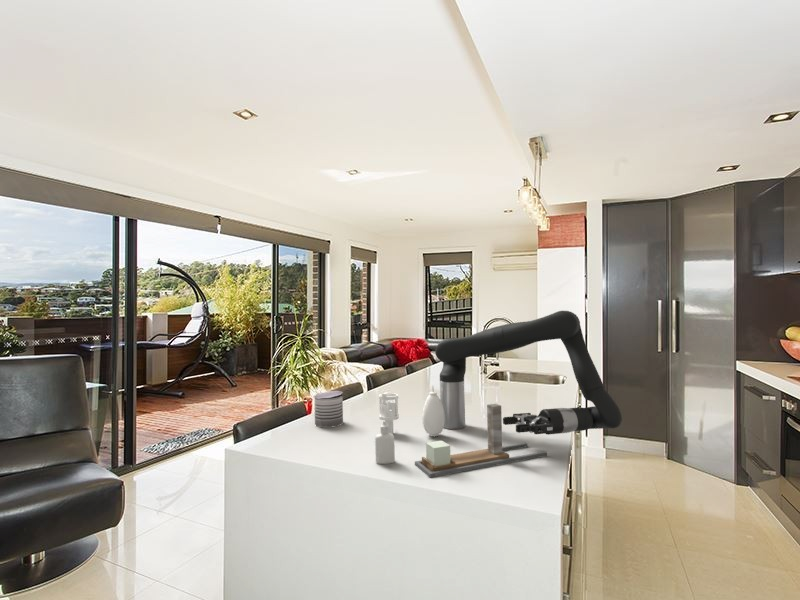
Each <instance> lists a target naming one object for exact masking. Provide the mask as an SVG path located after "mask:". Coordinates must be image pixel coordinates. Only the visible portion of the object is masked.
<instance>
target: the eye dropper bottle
mask: <svg viewBox="0 0 800 600" xmlns="http://www.w3.org/2000/svg"><path fill="white" fill-rule="evenodd" d="M382 421H383V422H382V424H381V425H380V433H377V434H376V435H375V437H374V445H375V451H374V452H375V453H374V455H375V462H376V464H379V465H388V464H393V463H394V462H395V461H396V460H395V459H396V454H395V450H396V449H395V446H396V445H395V436H394V433H393V434H390V433H389V426H388V425H386V421H385V420H382Z"/></svg>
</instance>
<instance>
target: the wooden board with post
mask: <svg viewBox="0 0 800 600" xmlns="http://www.w3.org/2000/svg"><path fill="white" fill-rule="evenodd" d="M486 414H487V415H486V417H487V419H486V421H487V423H486V424H487V448H484V449H478V450H473V451H467V452H462V453H455V454H450V464H446V465H440V466H435V465H434V464H433V463H431V462H430V461H429V460H427V459H426V457H424V456H422V457H421V460H422V465H424V466H425V467H426V468H427V469H429V470H430V471H431V472H434V471H440V470H445V469H450V468H456V467H461V466H467V465H472V464H478V463H483V462H489V461H494V460H500V459H505V458H510V454H509V453H507V452H505V451H502V447H503V427H502V426H503V425H502V424H503V417H502V405H500V404H497V403H489V404H487V405H486Z"/></svg>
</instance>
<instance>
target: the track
mask: <svg viewBox="0 0 800 600" xmlns="http://www.w3.org/2000/svg"><path fill="white" fill-rule="evenodd" d="M528 446H529V445H528V443H527V442H522V443H516V444H511V445H510V444H508V445H504V446H503V445H502V451H503V452H505V450H506V451H510V450H511V449H512V450H516V449H522V448H527V447H528ZM547 456H548V452H547V451H539V452H533V453H529V454H522V455H516V456H512V457H509V458H505V459H500V460H494V461H489V462H483V463H478V464H472V465H467V466H461V467H456V468H450V469H445V470H440V471H434V472H431V471H430V470H429V469H427V468H426V467H425V466H424V465H422V459H421V460H417V461H414V466H415V467H417V468H418V469H419V470H420V471H422V473H424V474H425V475H426V476H427V477H428V478H437V477H441V476H447V475H451V474H455V473H456V474H457V473H461V472H466V471H467V472H468V471H473V470H477V469H483V468H489V467H493V466H499V465H504V464H509V463H510V464H511V463H514V462H520V461H526V460H531V459H537V458H541V457H547Z"/></svg>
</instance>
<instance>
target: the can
mask: <svg viewBox="0 0 800 600" xmlns="http://www.w3.org/2000/svg"><path fill="white" fill-rule="evenodd" d="M343 394H344V391H341V390H331V391H324V392H319V393H316V394H315V395H313V398H314V399H313V403H314V409H313V410H314V425H316V426H315V427H318V426H321V427H320V428H333V427H332V426H335V427H338V425H339V426H340V424H341V425H342V423H343V424H344V408H343V407H344V406H343V399H344V397H343Z"/></svg>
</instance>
